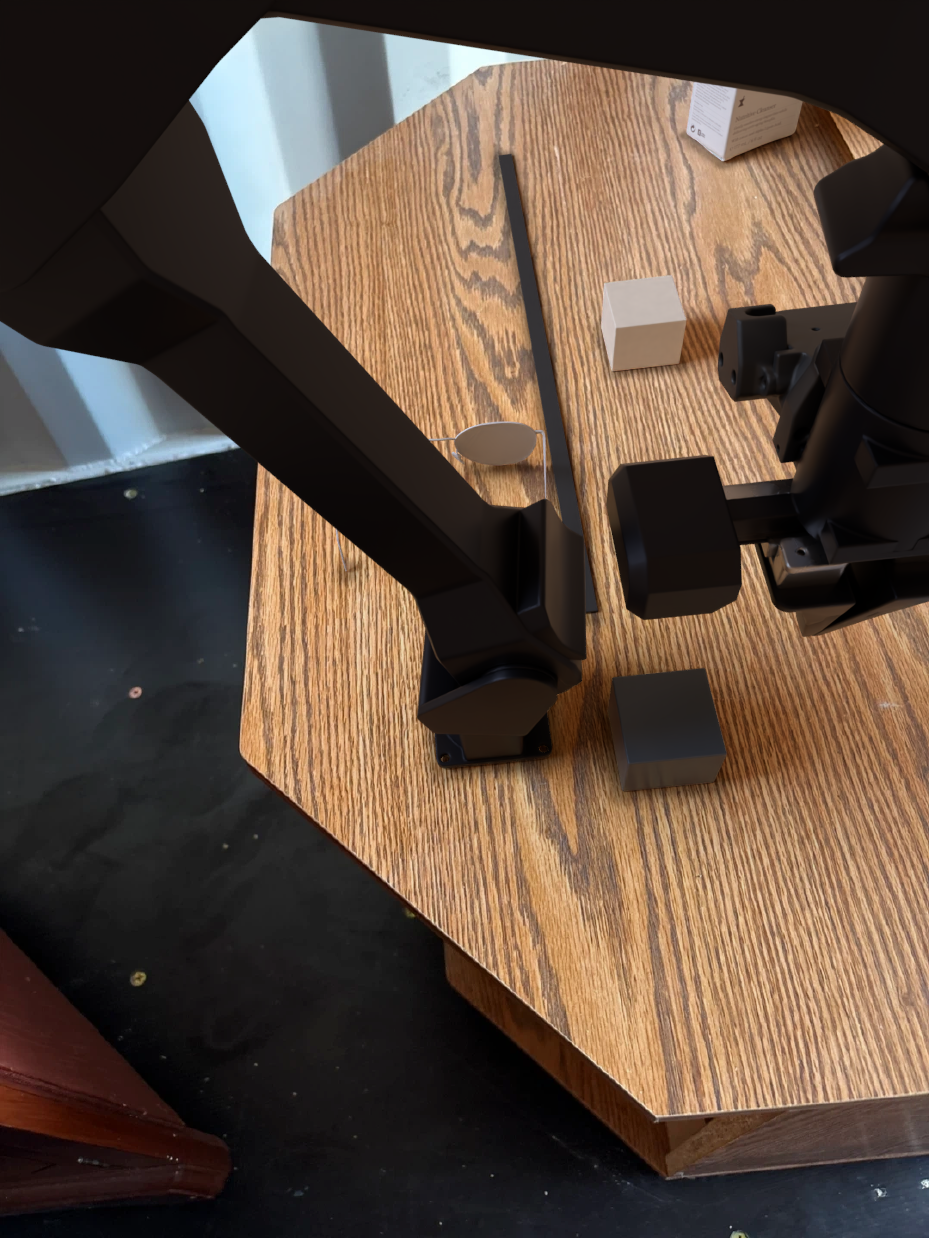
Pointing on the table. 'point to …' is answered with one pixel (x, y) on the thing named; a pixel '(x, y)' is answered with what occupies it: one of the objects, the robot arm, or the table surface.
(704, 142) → the cosmetic box
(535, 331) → the line tape
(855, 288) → the table surface
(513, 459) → the sunglasses
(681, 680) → the slate block
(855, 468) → the robot arm
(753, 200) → the table surface
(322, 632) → the table surface
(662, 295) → the cream block
